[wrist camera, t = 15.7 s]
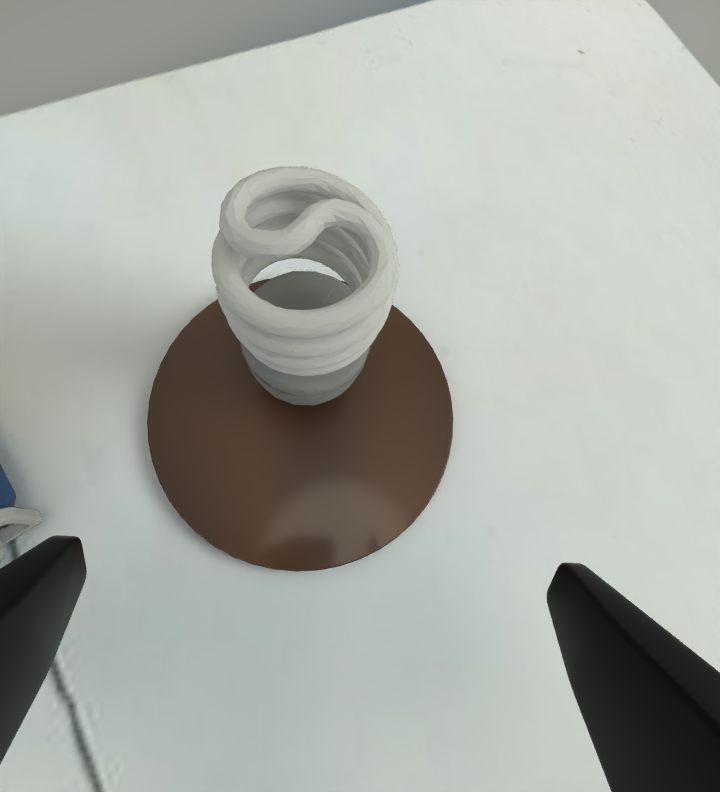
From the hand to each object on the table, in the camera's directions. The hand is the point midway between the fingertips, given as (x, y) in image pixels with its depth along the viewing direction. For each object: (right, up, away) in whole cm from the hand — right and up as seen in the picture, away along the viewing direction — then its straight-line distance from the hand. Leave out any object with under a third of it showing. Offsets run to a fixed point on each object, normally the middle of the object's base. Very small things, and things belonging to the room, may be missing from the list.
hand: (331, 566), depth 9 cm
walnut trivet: (-2, +2, +14) cm, 15 cm away
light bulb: (-2, +4, +15) cm, 15 cm away
